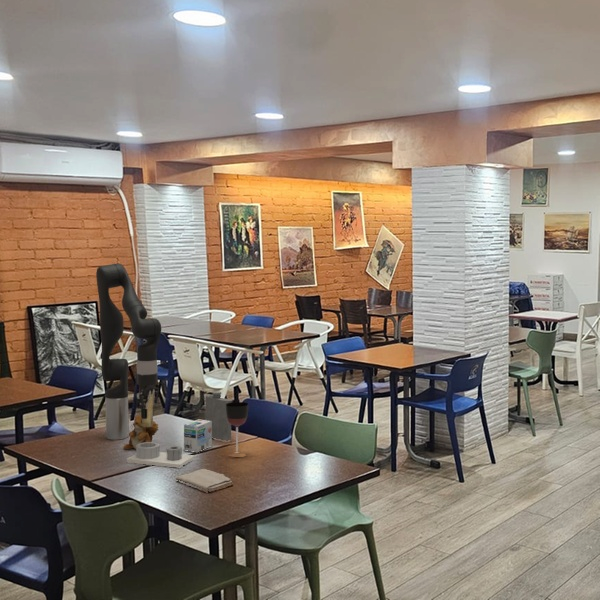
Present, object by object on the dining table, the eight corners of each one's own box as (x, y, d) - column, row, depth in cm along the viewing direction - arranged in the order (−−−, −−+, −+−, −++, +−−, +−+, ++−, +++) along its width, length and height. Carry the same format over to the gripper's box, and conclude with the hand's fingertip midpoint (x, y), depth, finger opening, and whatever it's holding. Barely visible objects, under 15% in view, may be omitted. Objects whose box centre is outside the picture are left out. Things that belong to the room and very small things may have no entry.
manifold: (126, 462, 256) (126, 448, 256) (143, 453, 267) (143, 439, 267) (180, 468, 249) (180, 453, 249) (194, 459, 261) (194, 445, 260)
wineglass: (250, 457, 264) (251, 405, 263) (228, 459, 261) (228, 407, 260) (244, 451, 272) (244, 401, 270) (223, 453, 268) (223, 403, 267)
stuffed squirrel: (121, 450, 272) (121, 417, 272) (140, 441, 286) (140, 409, 285) (143, 452, 269) (143, 419, 268) (162, 443, 282) (161, 411, 282)
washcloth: (208, 495, 223) (208, 486, 223) (174, 483, 235) (173, 474, 235) (235, 486, 232) (235, 477, 232) (201, 475, 244) (201, 466, 244)
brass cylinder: (145, 423, 262) (145, 392, 261) (154, 424, 260) (154, 393, 260) (139, 426, 258) (139, 394, 257) (149, 427, 257) (149, 395, 256)
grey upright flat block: (232, 441, 286) (232, 394, 284) (224, 443, 283) (224, 395, 282) (210, 434, 297) (210, 388, 296) (202, 436, 294) (202, 389, 293)
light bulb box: (197, 453, 268) (197, 426, 268) (183, 451, 271) (183, 424, 271) (212, 446, 278) (212, 420, 277) (198, 444, 281) (198, 418, 280)
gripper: (148, 368, 266) (148, 412, 267) (128, 374, 252) (128, 420, 253) (165, 369, 263) (165, 414, 265) (146, 375, 250) (146, 422, 251)
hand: (147, 417), depth 259 cm, fingers closed on brass cylinder, 4 cm apart
